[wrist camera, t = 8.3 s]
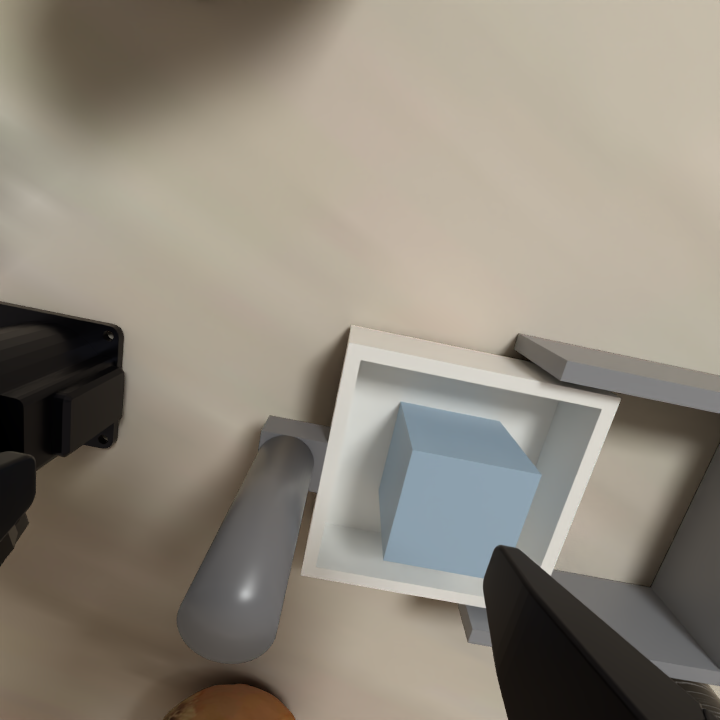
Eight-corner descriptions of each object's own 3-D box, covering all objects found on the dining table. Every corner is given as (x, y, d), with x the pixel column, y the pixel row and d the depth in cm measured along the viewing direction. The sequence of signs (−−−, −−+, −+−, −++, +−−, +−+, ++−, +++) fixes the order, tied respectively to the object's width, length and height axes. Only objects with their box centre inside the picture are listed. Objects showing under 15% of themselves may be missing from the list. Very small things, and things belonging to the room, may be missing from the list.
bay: (446, 562, 24) (467, 642, 19) (518, 333, 20) (567, 360, 15) (658, 600, 24) (731, 687, 20) (764, 384, 21) (884, 426, 16)
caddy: (259, 513, 23) (158, 777, 11) (293, 312, 20) (202, 401, 9) (507, 558, 23) (642, 850, 12) (575, 371, 20) (836, 524, 9)
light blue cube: (378, 490, 22) (383, 560, 17) (400, 401, 20) (412, 449, 15) (471, 507, 22) (502, 582, 17) (499, 421, 21) (541, 474, 16)
